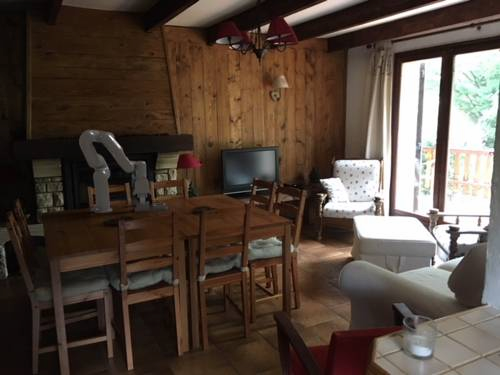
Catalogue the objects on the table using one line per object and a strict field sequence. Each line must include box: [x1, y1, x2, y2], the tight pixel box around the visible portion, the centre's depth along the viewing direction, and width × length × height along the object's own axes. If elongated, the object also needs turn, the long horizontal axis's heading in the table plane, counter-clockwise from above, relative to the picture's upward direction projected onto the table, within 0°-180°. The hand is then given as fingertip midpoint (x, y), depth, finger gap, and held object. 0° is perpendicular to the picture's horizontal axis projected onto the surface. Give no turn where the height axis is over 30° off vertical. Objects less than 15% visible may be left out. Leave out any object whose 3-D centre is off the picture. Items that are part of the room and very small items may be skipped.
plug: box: [140, 194, 146, 203], centre depth 317 cm, size 4×4×9 cm
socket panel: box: [134, 201, 169, 213], centre depth 319 cm, size 24×11×6 cm, turn 103°
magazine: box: [135, 193, 153, 206], centre depth 336 cm, size 4×13×15 cm, turn 125°
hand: (142, 202), depth 317 cm, fingers closed on plug, 4 cm apart
